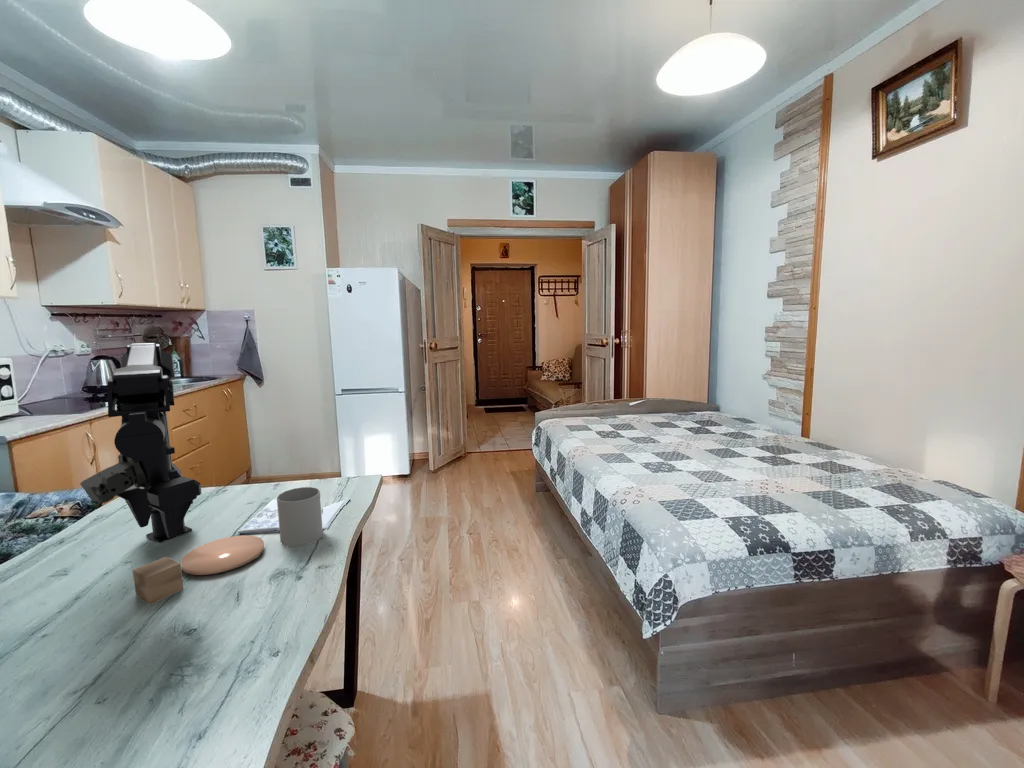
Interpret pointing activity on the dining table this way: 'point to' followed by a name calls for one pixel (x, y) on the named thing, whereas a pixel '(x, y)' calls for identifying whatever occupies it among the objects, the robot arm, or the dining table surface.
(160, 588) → the walnut block
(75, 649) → the dining table surface
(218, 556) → the salmon pink disc
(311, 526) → the cup
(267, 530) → the patterned cloth
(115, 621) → the dining table surface
